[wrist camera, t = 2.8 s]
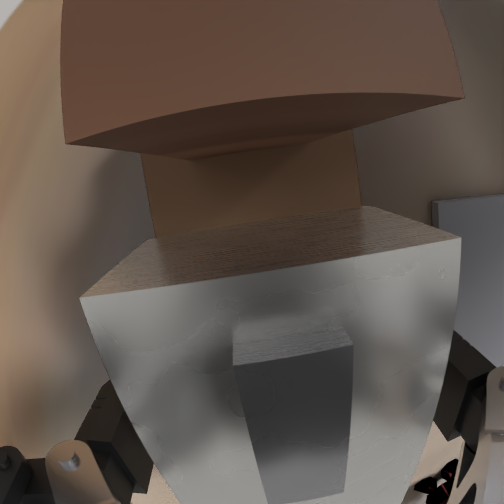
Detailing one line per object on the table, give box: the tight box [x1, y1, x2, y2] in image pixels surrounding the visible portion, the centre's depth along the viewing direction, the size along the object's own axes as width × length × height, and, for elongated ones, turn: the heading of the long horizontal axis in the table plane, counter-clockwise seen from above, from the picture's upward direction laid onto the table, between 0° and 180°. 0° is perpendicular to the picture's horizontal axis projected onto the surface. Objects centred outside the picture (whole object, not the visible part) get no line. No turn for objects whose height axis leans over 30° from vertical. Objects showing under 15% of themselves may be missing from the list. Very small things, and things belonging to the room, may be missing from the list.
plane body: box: [60, 0, 465, 238], centre depth 9 cm, size 20×6×11 cm, turn 8°
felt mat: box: [431, 194, 504, 367], centre depth 14 cm, size 12×9×1 cm
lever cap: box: [79, 206, 461, 504], centre depth 7 cm, size 9×6×5 cm, turn 8°
